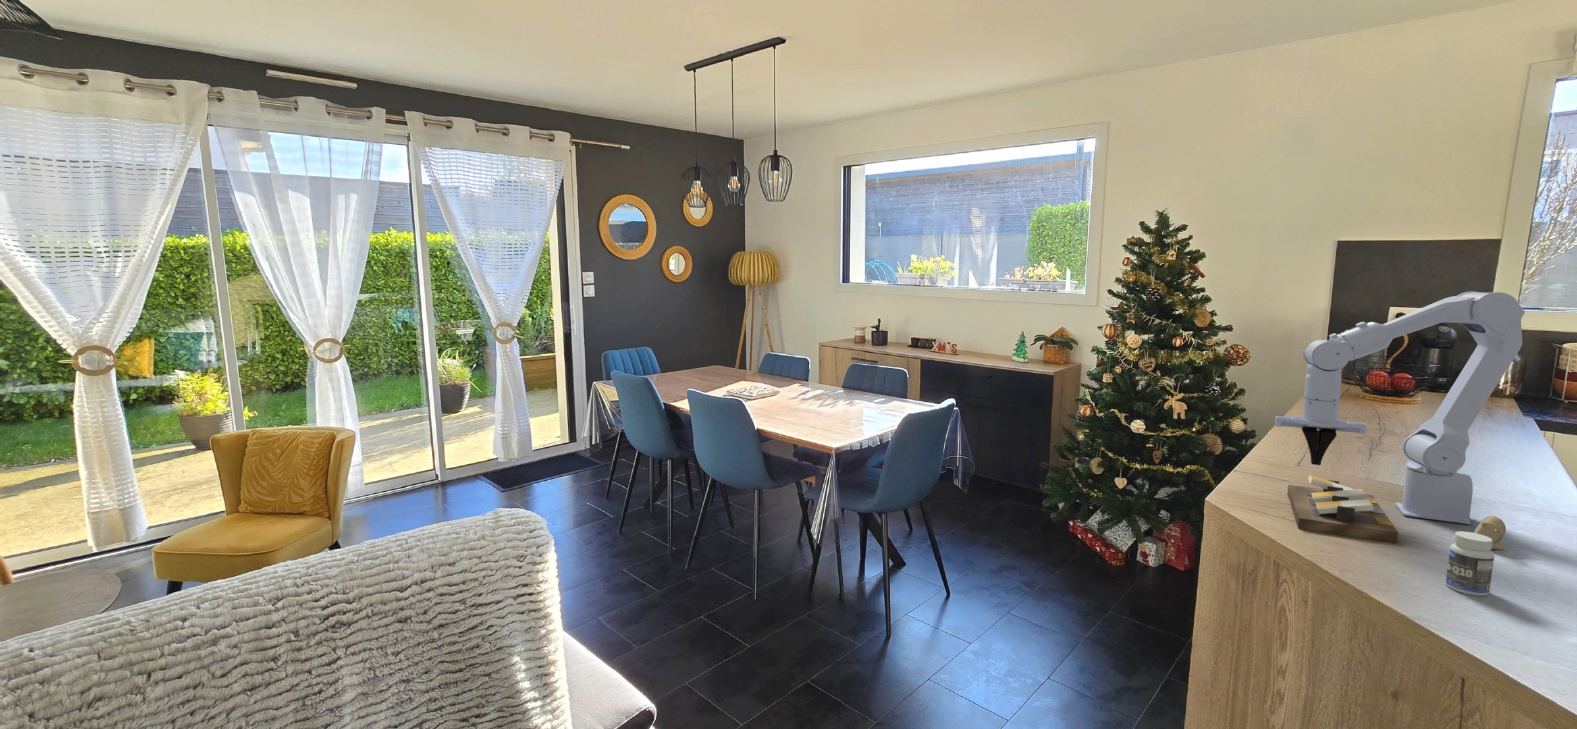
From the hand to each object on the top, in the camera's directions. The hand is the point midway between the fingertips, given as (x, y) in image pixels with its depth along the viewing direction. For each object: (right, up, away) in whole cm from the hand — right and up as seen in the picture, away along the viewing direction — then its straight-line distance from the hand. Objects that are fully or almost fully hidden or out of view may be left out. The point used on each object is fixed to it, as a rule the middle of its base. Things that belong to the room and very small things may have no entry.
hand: (1315, 463), depth 139 cm
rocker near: (-5, -6, -13) cm, 15 cm away
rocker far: (+3, -5, -1) cm, 5 cm away
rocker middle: (-1, -5, -7) cm, 9 cm away
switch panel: (-1, -9, -6) cm, 11 cm away
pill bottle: (-7, -14, -38) cm, 41 cm away
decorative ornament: (+13, -11, -22) cm, 28 cm away
